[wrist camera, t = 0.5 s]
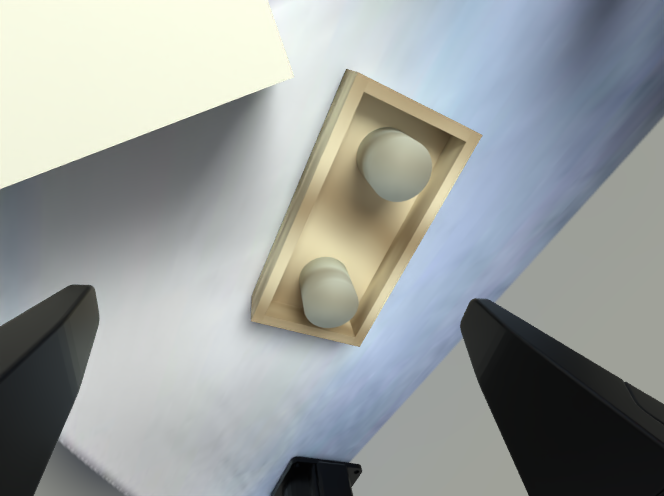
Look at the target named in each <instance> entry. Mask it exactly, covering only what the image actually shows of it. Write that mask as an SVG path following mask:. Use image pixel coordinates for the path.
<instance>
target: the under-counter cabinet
mask: <svg viewBox="0 0 664 496" xmlns="http://www.w3.org/2000/svg"><path fill="white" fill-rule="evenodd" d="M293 77H294V75H293V72H292V69H291V66H290V63H289V60H288V57H287V55H286V52H285V49H284V46H283V43H282V40H281V37H280V34H279V32H278V29H277V26H276V23H275V20H274V17H273V14H272V11H271V9H270V6H269V3H268V0H0V189H2V188H4V187H7V186H9V185H12V184H15V183H17V182H20V181H23V180H25V179H28V178H30V177H33V176H36V175H38V174H41V173H44V172H46V171H49V170H51V169H54V168H57V167H59V166H62V165H65V164H67V163H70V162H72V161H75V160H78V159H80V158H83V157H86V156H88V155H91V154H93V153H96V152H99V151H101V150H104V149H107V148H109V147H112V146H114V145H117V144H120V143H122V142H125V141H128V140H130V139H133V138H135V137H138V136H141V135H143V134H146V133H149V132H151V131H154V130H156V129H159V128H162V127H164V126H167V125H170V124H172V123H175V122H177V121H180V120H183V119H185V118H188V117H191V116H193V115H196V114H198V113H201V112H204V111H206V110H209V109H212V108H214V107H217V106H219V105H222V104H225V103H227V102H230V101H233V100H235V99H238V98H240V97H243V96H246V95H248V94H251V93H254V92H256V91H259V90H261V89H264V88H267V87H269V86H272V85H275V84H277V83H280V82H282V81H285V80H288V79H290V78H293Z"/></svg>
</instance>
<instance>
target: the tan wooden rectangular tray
mask: <svg viewBox="0 0 664 496" xmlns="http://www.w3.org/2000/svg"><path fill="white" fill-rule="evenodd" d="M481 137H482V135H481V134H479V133H477V132H475V131H473V130H471V129H469V128H467V127H465V126H463V125H462V124H460V123H458V122H456V121H454V120H452V119H450V118H448V117H446V116H444V115H442V114H440V113H438V112H436V111H434V110H432V109H430V108H428V107H426V106H424V105H422V104H420V103H418V102H416V101H414V100H412V99H410V98H408V97H406V96H404V95H402V94H400V93H398V92H396V91H394V90H392V89H390V88H388V87H386V86H384V85H382V84H380V83H378V82H376V81H374V80H372V79H370V78H368V77H366V76H364V75H362V74H360V73H358V72H355V71H352V70H348V69H346V71H345V73H344V76H343V78H342V80H341V83H340V85H339V88H338V90H337V92H336V95H335V97H334V100H333V102H332V104H331V107H330V109H329V112H328V114H327V116H326V119H325V121H324V124H323V126H322V128H321V131H320V133H319V135H318V138H317V140H316V143H315V145H314V147H313V150H312V152H311V155H310V157H309V159H308V162H307V164H306V167H305V169H304V171H303V174H302V176H301V179H300V181H299V183H298V186H297V188H296V191H295V193H294V195H293V198H292V200H291V203H290V205H289V207H288V210H287V212H286V215H285V217H284V219H283V222H282V224H281V227H280V229H279V231H278V234H277V236H276V239H275V241H274V243H273V246H272V248H271V251H270V253H269V255H268V258H267V260H266V263H265V265H264V267H263V270H262V272H261V275H260V277H259V279H258V282H257V284H256V287H255V289H254V291H253V294H252V302H251V321H252V322H257V323H261V324H265V325H269V326H274V327H278V328H282V329H286V330H290V331H295V332H299V333H303V334H307V335H312V336H316V337H320V338H324V339H328V340H333V341H337V342H341V343H345V344H349V345H354V346H358V347H360V345H361V344H362V342H363V340H364V338H365V337H366V335H367V333H368V331H369V330H370V328H371V326H372V325H373V323H374V321H375V319H376V318H377V316H378V314H379V313H380V311H381V309H382V307H383V306H384V304H385V302H386V300H387V299H388V297H389V295H390V294H391V292H392V290H393V288H394V287H395V285H396V283H397V282H398V280H399V278H400V276H401V275H402V273H403V271H404V269H405V268H406V266H407V264H408V263H409V261H410V259H411V257H412V256H413V254H414V252H415V251H416V249H417V247H418V245H419V244H420V242H421V240H422V238H423V237H424V235H425V233H426V232H427V230H428V228H429V226H430V225H431V223H432V221H433V220H434V218H435V216H436V214H437V213H438V211H439V209H440V207H441V206H442V204H443V202H444V201H445V199H446V197H447V195H448V194H449V192H450V190H451V189H452V187H453V185H454V183H455V182H456V180H457V178H458V176H459V175H460V173H461V171H462V170H463V168H464V166H465V164H466V163H467V161H468V159H469V158H470V156H471V154H472V152H473V151H474V149H475V147H476V145H477V144H478V142H479V140H480V139H481Z"/></svg>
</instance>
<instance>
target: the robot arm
mask: <svg viewBox="0 0 664 496" xmlns="http://www.w3.org/2000/svg"><path fill="white" fill-rule="evenodd" d="M98 325H99V310H98V304H97V298H96V292H95V289H94V287H93V286H91V285H70V286H67V287H66V288H64V289H62V290H61V291H59V292H57V293H56V294H54V295H52V296H51V297H49V298H47V299H46V300H44V301H42V302H40V303H39V304H37V305H35V306H34V307H32V308H30V309H29V310H27V311H25V312H24V313H22V314H20V315H19V316H17V317H15V318H14V319H12V320H10V321H8V322H7V323H5V324H3V325H2V326H0V496H34V494H35V491H36V489H37V487H38V484H39V482H40V480H41V478H42V475H43V473H44V471H45V468H46V466H47V464H48V461H49V459H50V457H51V455H52V452H53V450H54V448H55V445H56V443H57V441H58V439H59V436H60V434H61V432H62V429H63V427H64V425H65V423H66V420H67V418H68V416H69V413H70V411H71V409H72V406H73V404H74V402H75V399H76V397H77V394H78V392H79V389H80V386H81V383H82V380H83V376H84V373H85V369H86V366H87V363H88V359H89V356H90V353H91V349H92V346H93V342H94V339H95V336H96V332H97V329H98ZM460 328H461V333H462V336H463V339H464V341H465V345H466V348H467V351H468V354H469V357H470V360H471V363H472V366H473V369H474V372H475V374H476V377H477V380H478V383H479V385H480V387H481V390H482V392H483V394H484V396H485V399H486V401H487V403H488V406H489V408H490V409H491V412H492V414H493V417H494V419H495V421H496V423H497V426H498V428H499V430H500V432H501V435H502V437H503V439H504V441H505V444H506V445H507V448H508V450H509V452H510V455H511V457H512V459H513V461H514V464H515V466H516V468H517V470H518V473H519V475H520V477H521V479H522V482H523V483H524V486H525V488H526V490H527V492H528V495H529V496H664V404H663V403H661V402H659V401H658V400H656V399H654V398H652V397H651V396H649V395H647V394H646V393H644V392H642V391H641V390H639V389H637V388H635V387H634V386H632V385H631V384H629V383H627V382H624V381H623V380H622V379H620V378H619V377H617V376H615V375H614V374H612V373H610V372H609V371H607V370H605V369H604V368H602V367H600V366H599V365H597V364H595V363H594V362H592V361H590V360H589V359H587V358H585V357H584V356H582V355H580V354H579V353H577V352H575V351H574V350H572V349H570V348H569V347H567V346H565V345H564V344H562V343H560V342H559V341H557V340H555V339H554V338H552V337H550V336H549V335H547V334H545V333H544V332H542V331H540V330H539V329H537V328H535V327H534V326H532V325H531V324H529V323H527V322H525V321H524V320H522V319H521V318H519V317H517V316H515V315H513V314H512V313H510V312H509V311H507V310H506V309H503V308H502V307H501V306H499V305H497V304H496V303H494V302H492V301H491V300H489V299H479V298H475V299H472V300H471V301H470V303H469V305H468V307H467V309H466V311H465V313H464V316H463V318H462V320H461V324H460ZM361 473H362V468H361V465H359V464H353V463H345V462H337V461H329V460H321V459H313V458H305V457H295V458H293V459H292V460H291V462H290V463H289V465H288V467H287V469H286V470H285V472H284V474H283V475H282V477H281V479H280V481H279V482H278V484H277V486H276V488H275V489H274V491H273V493H272V495H271V496H353V493H352V488H351V487H352V486H353V484H354V483H355V481H356V480H357V479H358V477H359V476H360V474H361Z"/></svg>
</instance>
